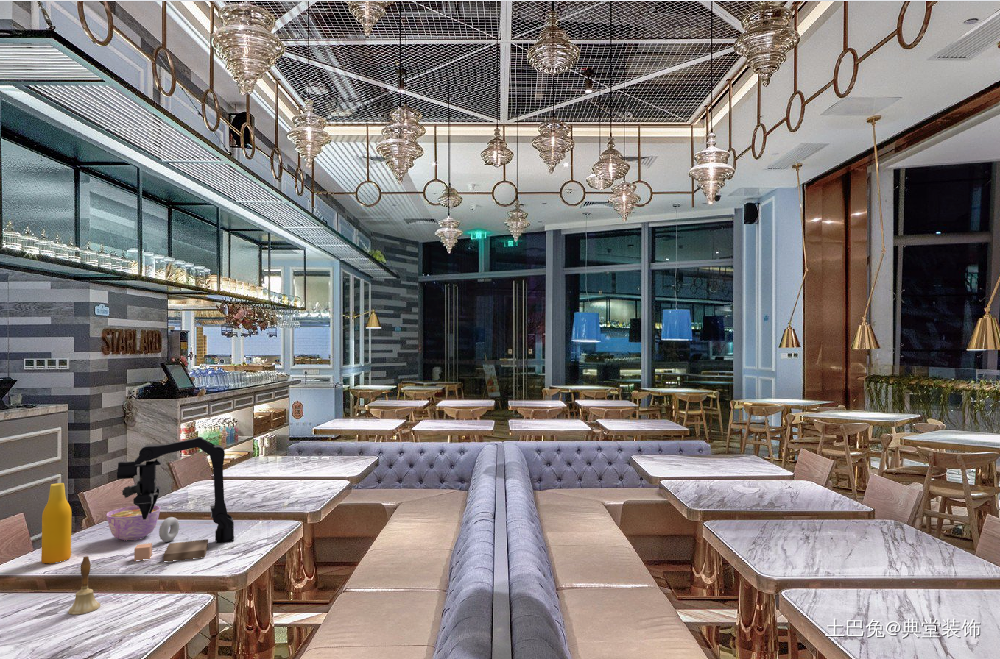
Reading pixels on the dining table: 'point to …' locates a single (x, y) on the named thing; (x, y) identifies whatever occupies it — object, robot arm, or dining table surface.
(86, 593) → the hand bell
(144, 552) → the terracotta block
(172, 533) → the donut
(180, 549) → the walnut base
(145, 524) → the bowl of food
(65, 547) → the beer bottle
